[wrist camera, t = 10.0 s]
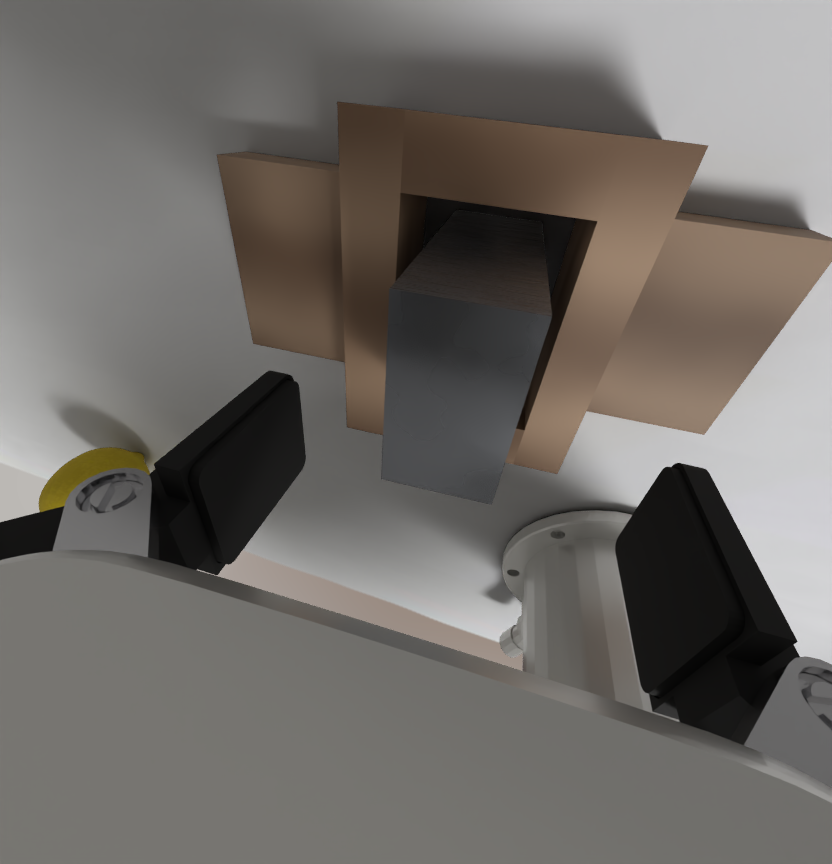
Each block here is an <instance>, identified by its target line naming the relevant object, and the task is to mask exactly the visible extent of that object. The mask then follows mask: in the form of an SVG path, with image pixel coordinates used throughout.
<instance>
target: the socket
mask: <svg viewBox="0 0 832 864" xmlns="http://www.w3.org/2000/svg"><path fill="white" fill-rule="evenodd" d="M337 106H338V140H339V165H338V164H331V163H324V162H316V161H309V160H302V159H295V158H288V157H280V156H273V155H266V154H259V153H252V152H238V153H228V154H219V155H217V158H218V164H219V169H220V174H221V179H222V184H223V189H224V195H225V200H226V205H227V210H228V215H229V221H230V226H231V231H232V236H233V241H234V246H235V252H236V257H237V262H238V267H239V272H240V278H241V283H242V288H243V293H244V298H245V303H246V309H247V314H248V319H249V324H250V329H251V334H252V340H253V344H257V345H262V346H267V347H272V348H277V349H282V350H287V351H292V352H297V353H302V354H307V355H312V356H317V357H322V358H327V359H332V360H337V361H341V362H345V379H346V413H347V427H348V428H353V429H357V430H362V431H366V432H371V433H375V434H380V435H383V426H384V402H385V379H386V355H387V331H388V308H389V288H390V287H391V286H392V285H393V284H394V283H395V281H396V280H397V279H398V278H399V277H400V276H401V274H402V273H403V272H404V271H405V270H406V268H407V267H408V266H409V265H410V264H411V263H412V261H413V260H414V259H415V258H416V257H417V256H418V254H419V253H420V252H421V251H422V249H423V239H424V228H425V218H426V207H427V197H434V198H441V199H448V200H455V201H461V202H468V203H475V204H482V205H489V206H496V207H503V208H510V209H517V210H524V211H530V212H537V213H544V214H551V215H558V216H565V217H572V218H576V220H575V223H574V227H573V230H572V233H571V236H570V239H569V242H568V246H567V249H566V252H565V255H564V258H563V261H562V265H561V268H560V271H559V274H558V277H557V280H556V284H555V287H554V290H553V293H552V296H551V299H550V301H551V310H552V319H551V322H550V325H549V328H548V331H547V334H546V337H545V340H544V343H543V347H542V350H541V353H540V356H539V359H538V362H537V365H536V368H535V371H534V374H533V377H532V381H531V384H530V387H529V390H528V393H527V396H526V399H525V402H524V405H523V408H522V412H521V415H520V418H519V421H518V424H517V427H516V430H515V433H514V436H513V439H512V442H511V446H510V449H509V452H508V455H507V458H506V461H505V462H506V463H510V464H515V465H519V466H524V467H528V468H533V469H537V470H541V471H546V472H550V473H555V474H557V473H558V471H559V469H560V467H561V465H562V463H563V460H564V458H565V456H566V454H567V452H568V450H569V447H570V445H571V443H572V441H573V439H574V437H575V434H576V432H577V430H578V428H579V426H580V424H581V421H582V419H583V417H584V415H585V413H586V411H589V412H594V413H599V414H604V415H609V416H614V417H619V418H624V419H629V420H634V421H638V422H643V423H648V424H653V425H658V426H663V427H668V428H673V429H678V430H683V431H688V432H693V433H698V434H703V435H704V434H705V433H706V432H707V430H708V429H709V427H710V426H711V425H712V423H713V422H714V421H715V419H716V418H717V417H718V415H719V414H720V413H721V411H722V410H723V408H724V407H725V406H726V404H727V403H728V402H729V400H730V399H731V398H732V396H733V395H734V394H735V392H736V391H737V389H738V388H739V387H740V385H741V384H742V383H743V381H744V380H745V379H746V377H747V376H748V375H749V373H750V372H751V370H752V369H753V368H754V366H755V365H756V364H757V362H758V361H759V360H760V358H761V357H762V356H763V354H764V353H765V351H766V350H767V349H768V347H769V346H770V345H771V343H772V342H773V341H774V339H775V338H776V337H777V335H778V334H779V332H780V331H781V330H782V328H783V327H784V326H785V324H786V323H787V322H788V320H789V319H790V318H791V316H792V315H793V313H794V312H795V311H796V309H797V308H798V307H799V305H800V304H801V303H802V301H803V300H804V299H805V297H806V296H807V294H808V293H809V292H810V290H811V289H812V288H813V286H814V285H815V284H816V282H817V281H818V280H819V278H820V277H821V275H822V274H823V273H824V271H825V270H826V269H827V267H828V266H829V265H830V263H831V262H832V238H830V237H828V236H825V235H822V234H820V233H817V232H815V231H812V230H807V229H800V228H792V227H785V226H778V225H771V224H764V223H756V222H749V221H742V220H735V219H728V218H720V217H713V216H706V215H699V214H691V213H684V212H678V211H679V208H680V206H681V204H682V202H683V200H684V198H685V195H686V193H687V191H688V189H689V187H690V185H691V182H692V180H693V178H694V176H695V174H696V172H697V169H698V167H699V165H700V163H701V161H702V158H703V156H704V154H705V152H706V150H707V148H708V146H707V145H699V144H692V143H684V142H677V141H669V140H661V139H653V138H644V137H636V136H628V135H619V134H611V133H602V132H594V131H585V130H577V129H568V128H560V127H551V126H543V125H535V124H526V123H518V122H509V121H501V120H492V119H484V118H475V117H467V116H458V115H450V114H442V113H433V112H425V111H416V110H408V109H399V108H391V107H382V106H373V105H363V104H354V103H344V102H337Z"/></svg>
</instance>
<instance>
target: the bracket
mask: <svg viewBox="0 0 832 864" xmlns="http://www.w3.org/2000/svg"><path fill="white" fill-rule="evenodd" d="M551 319H552V310H551V301H550V292H549V282H548V273H547V264H546V254H545V245H544V235H543V226H542V222H540V221H533V220H526V219H519V218H512V217H505V216H498V215H491V214H484V213H477V212H470V211H463V210H456V211H455V212H454V213H453V214H452V216H451V217H450V218H449V219H448V220H447V221H446V223H445V224H444V225H443V226H442V227H441V228H440V230H439V231H438V232H437V233H436V234H435V236H434V237H433V238H432V239H431V240H430V241H429V243H428V244H427V245H426V246H425V247H424V248H423V250H422V251H421V252H420V253H419V254H418V256H417V257H416V258H415V259H414V260H413V261H412V263H411V264H410V265H409V266H408V267H407V268H406V270H405V271H404V272H403V273H402V274H401V276H400V277H399V278H398V279H397V280H396V281H395V283H394V284H393V285H392V286H391V287H390V288H389V308H388V331H387V355H386V379H385V402H384V426H383V450H382V473H381V479H384V480H388V481H392V482H397V483H401V484H405V485H410V486H414V487H418V488H423V489H427V490H431V491H435V492H440V493H444V494H448V495H453V496H457V497H461V498H465V499H470V500H474V501H478V502H483V503H487V504H492V501H493V498H494V495H495V492H496V489H497V486H498V483H499V480H500V477H501V473H502V470H503V467H504V464H505V461H506V458H507V455H508V452H509V449H510V446H511V442H512V439H513V436H514V433H515V430H516V427H517V424H518V421H519V418H520V415H521V412H522V408H523V405H524V402H525V399H526V396H527V393H528V390H529V387H530V384H531V381H532V377H533V374H534V371H535V368H536V365H537V362H538V359H539V356H540V353H541V350H542V347H543V343H544V340H545V337H546V334H547V331H548V328H549V325H550V322H551Z"/></svg>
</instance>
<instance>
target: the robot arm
mask: <svg viewBox="0 0 832 864" xmlns="http://www.w3.org/2000/svg"><path fill="white" fill-rule="evenodd" d="M305 460H306V455H305V445H304V434H303V424H302V413H301V403H300V392H299V385H298V383H297V382H295V381H294V379H293V377H292V376H291V375H288V374H284V373H279V372H275V371H268V372H266V373H265V374H264V375H262V376H261V377H260V378H259V379H258V380H256V381H255V382H254V383H253V384H251V385H250V386H249V387H248V388H247V389H245V390H244V391H243V392H242V393H240V394H239V395H238V396H237V397H236V398H234V399H233V400H232V401H231V402H229V403H228V404H227V405H226V406H225V407H223V408H222V409H221V410H220V411H218V412H217V413H216V414H215V415H214V416H212V417H211V418H210V419H209V420H207V421H206V422H205V423H204V424H203V425H201V426H200V427H199V428H198V429H196V430H195V431H194V432H193V433H191V434H190V435H189V436H188V437H187V438H185V439H184V440H183V441H182V442H180V443H179V444H178V445H177V446H176V447H174V448H173V449H172V450H171V451H169V452H168V453H167V454H166V455H165V456H163V457H162V458H161V459H160V460H158V461H157V462H156V463H155V464H154V466H155V468H156V469H155V470H154V471H153V472H152V473H150V474H149V475H148V474H147V473H146V472H145V471H142V470H139V469H136V468H118V469H112V470H108V471H105V472H101V473H99V474H97V475H94V476H92V477H90V478H88V479H86V480H85V481H83V482H82V483H80V484H79V485H78V486H77V487H76V488H75V489H74V490H73V491H72V492H71V493H70V494H69V496H68V498H67V500H66V502H65V506H62V507H58V508H54V509H50V510H47V511H43V512H39V513H35V514H31V515H27V516H23V517H19V518H16V519H12V520H8V521H4V522H0V864H832V665H831V664H829V663H827V662H824V661H822V660H820V659H815V658H811V657H800V656H799V654H798V653H797V651H796V649H795V647H794V645H793V644H795V643H796V642H797V640H796V638H795V636H794V634H793V632H792V630H791V628H790V626H789V624H788V623H787V621H786V619H785V617H784V615H783V613H782V611H781V609H780V607H779V605H778V603H777V602H776V600H775V598H774V596H773V594H772V592H771V590H770V588H769V586H768V584H767V583H766V581H765V579H764V577H763V575H762V573H761V571H760V569H759V567H758V565H757V563H756V562H755V560H754V558H753V556H752V554H751V552H750V550H749V548H748V546H747V544H746V543H745V541H744V539H743V537H742V535H741V533H740V531H739V529H738V527H737V525H736V523H735V522H734V520H733V518H732V516H731V514H730V512H729V510H728V508H727V506H726V504H725V503H724V501H723V499H722V497H721V495H720V493H719V491H718V489H717V487H716V485H715V483H714V482H713V480H712V478H711V476H710V474H709V472H708V471H707V470H706V469H703V468H699V467H695V466H690V465H686V464H681V463H676V464H674V465H673V466H672V467H665V468H664V469H663V470H662V471H661V473H660V474H659V476H658V477H657V479H656V480H655V482H654V483H653V485H652V486H651V488H650V489H649V491H648V492H647V494H646V495H645V497H644V498H643V500H642V501H641V503H640V504H639V506H638V507H637V509H636V510H635V512H634V513H633V515H631V514H626V513H621V512H614V511H600V510H589V511H573V512H568V513H562V514H556V515H553V516H550V517H547V518H544V519H541V520H538V521H536V522H534V523H532V524H530V525H528V526H526V527H524V528H523V529H522V530H521V531H519V532H518V533H517V534H515V535H514V536H513V538H512V539H511V540H510V542H509V543H508V544H507V546H506V549H505V551H504V554H503V564H502V571H503V578H504V581H505V583H506V585H507V587H508V588H509V590H510V591H511V592H512V594H513V595H514V596H515V597H516V598H517V599H518V600H520V601H521V602H522V615H521V616H520V617H519V618H518V621H517V625H514V626H512V627H511V628H509V629H508V630H506V631H505V632H503V633H502V635H501V636H500V646H501V649H502V650H503V651H504V653H505V654H506V655H508V656H509V657H517V656H519V655H520V654H522V653H523V671H521V670H517V669H514V668H511V667H508V666H505V665H502V664H498V663H495V662H492V661H489V660H486V659H483V658H480V657H477V656H473V655H470V654H467V653H464V652H461V651H457V650H454V649H451V648H448V647H445V646H441V645H438V644H435V643H432V642H429V641H426V640H422V639H419V638H416V637H413V636H410V635H406V634H403V633H400V632H397V631H394V630H390V629H387V628H384V627H380V626H378V625H374V624H371V623H368V622H365V621H362V620H358V619H355V618H352V617H349V616H346V615H342V614H339V613H336V612H333V611H329V610H326V609H323V608H320V607H316V606H313V605H310V604H307V603H303V602H300V601H297V600H294V599H290V598H287V597H284V596H280V595H277V594H274V593H271V592H268V591H264V590H261V589H257V588H255V587H251V586H248V585H244V584H242V583H238V582H235V581H232V580H228V579H225V578H221V577H218V576H214V575H211V574H215V575H218V574H219V572H220V571H221V570H222V568H223V567H224V566H225V564H231V563H232V562H234V560H235V559H236V558H237V557H238V555H239V554H240V552H241V551H242V550H243V549H244V547H245V546H246V545H247V543H248V542H249V540H250V539H251V538H252V536H253V535H254V534H255V532H256V531H257V530H258V528H259V527H260V526H261V524H262V523H263V522H264V520H265V519H266V518H267V516H268V515H269V513H270V512H271V511H272V509H273V508H274V507H275V505H276V504H277V503H278V501H279V500H280V499H281V497H282V496H283V495H284V493H285V492H286V491H287V489H288V488H289V486H290V485H291V484H292V482H293V481H294V480H295V478H296V477H297V476H298V474H299V473H300V472H301V470H302V469H303V467H304V464H305ZM197 569H199V570H202V571H205V572H208V573H211V574H207V573H204V572H200V571H197Z"/></svg>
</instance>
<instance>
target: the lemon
mask: <svg viewBox="0 0 832 864" xmlns="http://www.w3.org/2000/svg"><path fill="white" fill-rule="evenodd" d="M118 468H136V469H139V470H142V471H145V472H146V473H147V474H148V475H149V474H150V472H149V470H148V467H147V465H146V464H145V463H144V456H143V455H142V454H141V453H139V452H130V451H127V450H125V449H120V448H112V447H110V448H99V449H94V450H91V451H88V452H86V453H83V454H81V455H79V456H77V457H76V458H74V459H72V460H71V461H69V462H68V463H66V464H65V465H64V466H62V467H61V468H60V469H59V470H58V471H57V472H56V473H55V474H54V475H53V476H52V477H51V478H50V480H49V481H48V482H47V484H46V485H45V487H44V488H43V490H42V492H41V495H40V498H39V510H40V512H43V511H47V510H50V509H54V508H58V507H62V506H65V502H66V500H67V498H68V496H69V494H70V493H71V492H72V491H73V490H74V489H75V488H76V487H77V486H78V485H79V484H80V483H82V482H83V481H85V480H86V479H88V478H90V477H92V476H94V475H97V474H99V473H101V472H105V471H108V470H112V469H118Z"/></svg>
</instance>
